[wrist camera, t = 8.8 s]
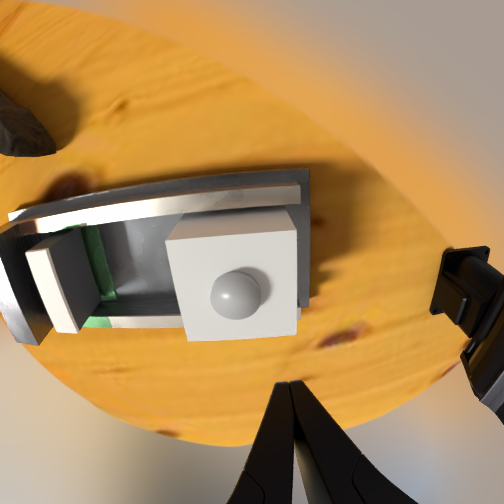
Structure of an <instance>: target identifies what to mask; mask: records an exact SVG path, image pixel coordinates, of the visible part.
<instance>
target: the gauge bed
mask: <svg viewBox="0 0 504 504" xmlns="http://www.w3.org/2000/svg"><path fill="white" fill-rule="evenodd" d="M273 205H284V207H285V209H286V211H287V213H288V215H289V216H290V218H291V220H292V222H293V224H294V226H295V228H296V230H297V320H301V308H307V307H309V288H310V180H309V169H308V168H306V167H303V168H280V169H264V170H249V171H237V172H226V173H215V174H206V175H197V176H188V177H180V178H173V179H165V180H158V181H152V182H145V183H139V184H132V185H127V186H121V187H115V188H110V189H104V190H99V191H94V192H89V193H84V194H79V195H75V196H70V197H66V198H61V199H57V200H53V201H49V202H45V203H40V204H37V205H33V206H29V207H25V208H21V209H18V210H15V211H13V212H11V213H9V214H8V215H9V219H10V222H8V223H6V224H4V225H2V226H1V227H0V311H1V313H2V315H3V317H4V319H5V321H6V323H7V325H8V327H9V329H10V331H11V333H12V335H13V337H14V338H15V340H16V342H18V343H24V344H30V345H36V346H39V345H40V343H41V342H42V341H43V339H44V338H45V337H46V335H47V334H48V333H49V331H50V330H51V329H52V328H53V326H54V325H53V323H52V321H51V318H50V316H49V314H48V312H47V309H46V307H45V305H44V302H43V300H42V298H41V295H40V293H39V290H38V288H37V285H36V282H35V280H34V277H33V274H32V271H31V269H30V266H29V263H28V260H27V257H26V252H27V251H28V250H30V249H31V248H33V247H34V246H35V245H37V244H38V243H40V242H41V241H42V240H44V239H45V238H47V237H48V236H50V235H51V234H53V233H54V232H56V231H57V230H61V229H68V228H74V227H80V230H81V234H82V238H83V242H84V246H85V249H86V253H87V256H88V260H89V263H90V266H91V270H92V273H93V276H94V279H95V282H96V285H97V288H98V291H99V294H100V297H101V301H100V302H99V304H98V305H97V307H96V308H95V309H94V311H93V312H92V314H91V315H90V316H89V318H88V319H87V321H86V322H85V324H84V325H83V327H95V328H184V324H183V320H182V316H181V312H180V308H179V304H178V300H177V295H176V291H175V287H174V282H173V278H172V273H171V268H170V264H169V259H168V254H167V249H166V244H165V240H166V238H167V237H168V236H169V234H170V233H171V231H172V230H173V228H174V227H175V226H176V224H177V223H178V221H179V220H180V218H181V217H182V216H183V214H184V213H190V212H200V211H211V210H222V209H233V208H245V207H258V206H273Z"/></svg>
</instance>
